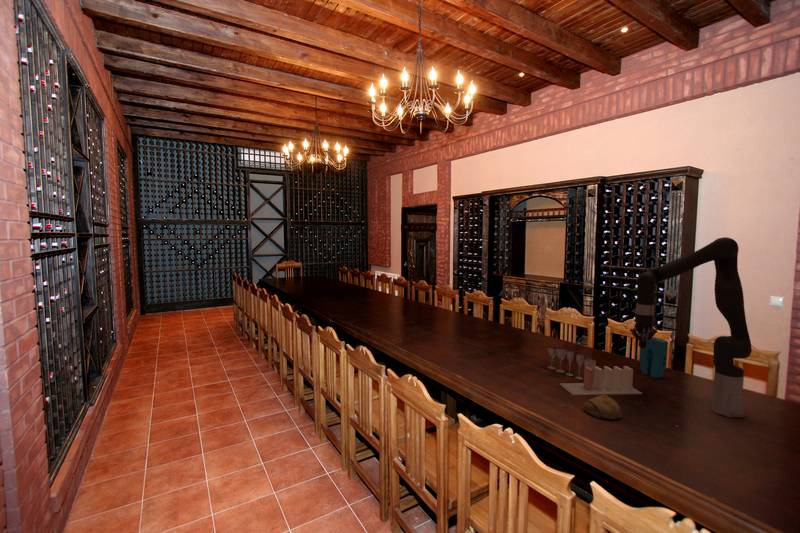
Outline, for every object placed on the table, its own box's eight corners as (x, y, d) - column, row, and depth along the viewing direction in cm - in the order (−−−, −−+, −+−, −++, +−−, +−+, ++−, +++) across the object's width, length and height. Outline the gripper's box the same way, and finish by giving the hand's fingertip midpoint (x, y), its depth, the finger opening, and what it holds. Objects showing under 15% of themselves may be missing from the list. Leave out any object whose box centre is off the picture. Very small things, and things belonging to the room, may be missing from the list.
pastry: (624, 414, 159) (626, 396, 158) (617, 425, 150) (618, 405, 149) (589, 403, 168) (590, 386, 168) (580, 413, 159) (581, 395, 158)
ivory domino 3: (622, 389, 182) (623, 369, 181) (618, 389, 182) (620, 369, 181) (615, 385, 187) (616, 366, 186) (612, 385, 187) (613, 366, 186)
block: (666, 378, 199) (668, 341, 197) (659, 379, 197) (662, 342, 195) (644, 370, 210) (646, 335, 208) (638, 371, 208) (640, 336, 206)
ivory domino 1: (602, 390, 181) (603, 370, 180) (599, 390, 181) (600, 370, 180) (596, 386, 186) (597, 366, 185) (593, 386, 186) (594, 366, 185)
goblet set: (544, 367, 213) (545, 344, 212) (551, 365, 216) (552, 343, 215) (590, 384, 189) (592, 359, 188) (597, 382, 192) (599, 357, 191)
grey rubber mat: (642, 394, 178) (642, 393, 178) (573, 395, 176) (573, 394, 176) (624, 383, 191) (624, 382, 191) (559, 384, 189) (559, 383, 189)
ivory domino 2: (612, 390, 182) (613, 370, 181) (609, 390, 181) (610, 370, 181) (605, 385, 187) (607, 366, 186) (602, 385, 186) (603, 366, 186)
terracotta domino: (592, 390, 181) (593, 370, 180) (589, 390, 181) (590, 370, 180) (586, 386, 186) (587, 366, 185) (583, 386, 186) (584, 366, 185)
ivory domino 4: (631, 389, 182) (633, 369, 181) (628, 389, 182) (630, 369, 181) (625, 385, 187) (626, 366, 186) (622, 385, 187) (623, 366, 186)
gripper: (651, 311, 186) (649, 345, 187) (626, 311, 185) (624, 345, 187) (663, 314, 178) (660, 350, 180) (636, 314, 178) (634, 350, 179)
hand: (642, 347), depth 183 cm, fingers closed
